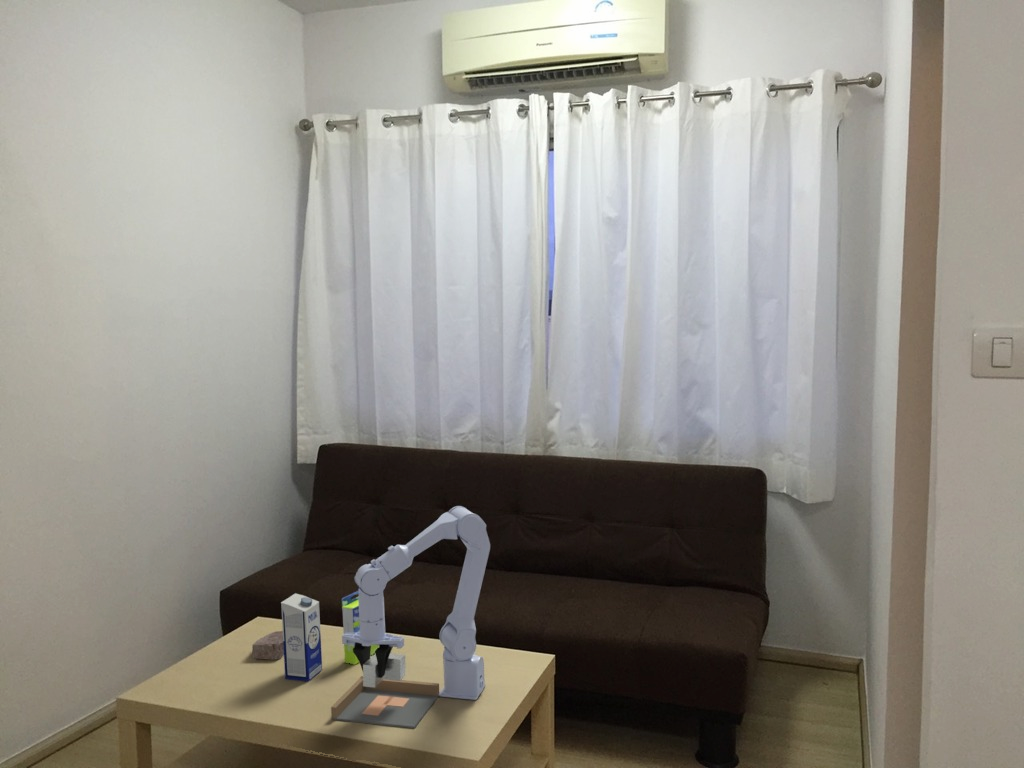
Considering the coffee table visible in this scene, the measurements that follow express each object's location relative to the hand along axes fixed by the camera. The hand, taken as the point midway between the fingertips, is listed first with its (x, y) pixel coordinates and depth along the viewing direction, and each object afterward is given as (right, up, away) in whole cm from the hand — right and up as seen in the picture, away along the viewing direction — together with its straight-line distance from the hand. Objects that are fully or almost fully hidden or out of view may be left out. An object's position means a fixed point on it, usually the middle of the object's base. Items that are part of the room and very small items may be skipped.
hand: (374, 675), depth 187 cm
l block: (+2, -2, +1) cm, 3 cm away
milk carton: (-21, -7, +21) cm, 31 cm away
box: (-8, -6, +31) cm, 32 cm away
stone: (-34, -7, +35) cm, 49 cm away
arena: (+3, -8, +2) cm, 9 cm away
